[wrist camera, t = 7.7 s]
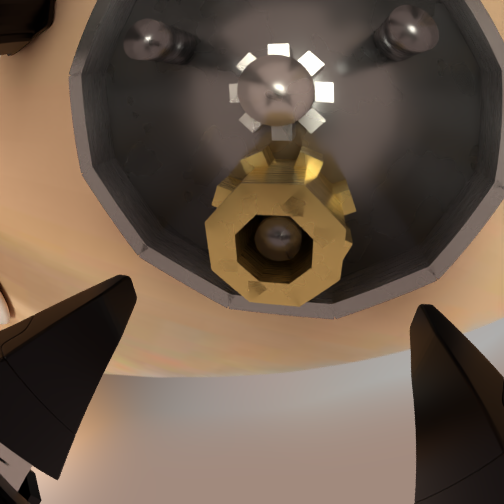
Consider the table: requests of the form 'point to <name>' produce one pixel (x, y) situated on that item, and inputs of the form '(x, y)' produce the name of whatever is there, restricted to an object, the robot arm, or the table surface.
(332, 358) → the table surface
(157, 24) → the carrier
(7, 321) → the flower in vase
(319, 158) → the planet gear
